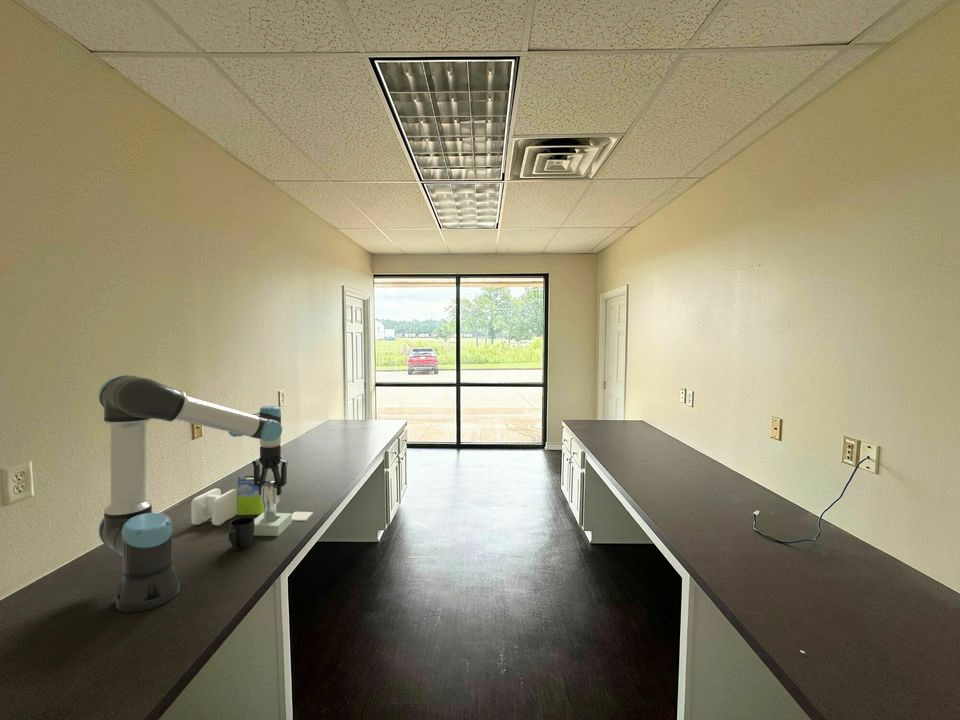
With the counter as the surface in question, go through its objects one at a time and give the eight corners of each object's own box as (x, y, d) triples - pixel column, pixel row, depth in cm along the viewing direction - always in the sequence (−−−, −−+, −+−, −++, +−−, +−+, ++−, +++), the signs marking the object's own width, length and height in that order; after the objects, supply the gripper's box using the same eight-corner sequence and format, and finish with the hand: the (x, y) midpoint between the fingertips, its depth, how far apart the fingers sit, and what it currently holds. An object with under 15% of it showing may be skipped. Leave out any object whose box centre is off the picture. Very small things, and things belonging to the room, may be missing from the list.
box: (266, 511, 195) (266, 472, 194) (262, 515, 191) (262, 475, 190) (241, 511, 194) (240, 473, 193) (237, 515, 189) (236, 476, 188)
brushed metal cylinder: (273, 518, 175) (273, 483, 174) (260, 517, 175) (260, 483, 174) (279, 513, 180) (279, 479, 179) (267, 512, 180) (267, 479, 179)
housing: (278, 535, 172) (278, 525, 172) (247, 534, 172) (247, 524, 172) (291, 522, 184) (291, 513, 184) (263, 521, 184) (263, 512, 184)
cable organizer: (214, 529, 176) (214, 500, 176) (190, 527, 177) (189, 499, 177) (239, 514, 191) (238, 487, 190) (216, 512, 192) (216, 486, 192)
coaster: (305, 521, 186) (305, 519, 186) (286, 520, 186) (286, 519, 186) (313, 513, 194) (313, 512, 194) (295, 512, 194) (295, 511, 194)
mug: (218, 556, 155) (217, 530, 154) (237, 540, 167) (237, 516, 166) (241, 557, 155) (241, 531, 154) (258, 541, 167) (258, 517, 166)
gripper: (296, 443, 179) (296, 500, 181) (253, 442, 180) (253, 498, 181) (288, 448, 172) (287, 507, 173) (243, 446, 172) (243, 505, 173)
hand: (270, 502), depth 177 cm, fingers closed on brushed metal cylinder, 5 cm apart
